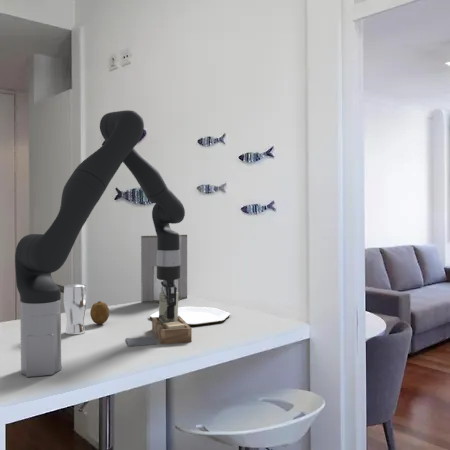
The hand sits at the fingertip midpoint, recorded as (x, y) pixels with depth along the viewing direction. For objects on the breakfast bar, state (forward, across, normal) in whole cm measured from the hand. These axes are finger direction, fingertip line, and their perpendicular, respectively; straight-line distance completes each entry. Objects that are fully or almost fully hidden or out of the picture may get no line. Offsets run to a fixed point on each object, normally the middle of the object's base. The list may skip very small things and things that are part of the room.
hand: (168, 316), depth 158 cm
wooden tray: (+5, -4, 0) cm, 7 cm away
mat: (+5, -9, +10) cm, 14 cm away
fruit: (+5, +17, +20) cm, 27 cm away
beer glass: (+5, +8, +28) cm, 30 cm away
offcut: (+3, -9, 0) cm, 9 cm away
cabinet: (+5, +51, -10) cm, 52 cm away
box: (+5, 0, 0) cm, 5 cm away
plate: (+6, +19, -12) cm, 23 cm away
